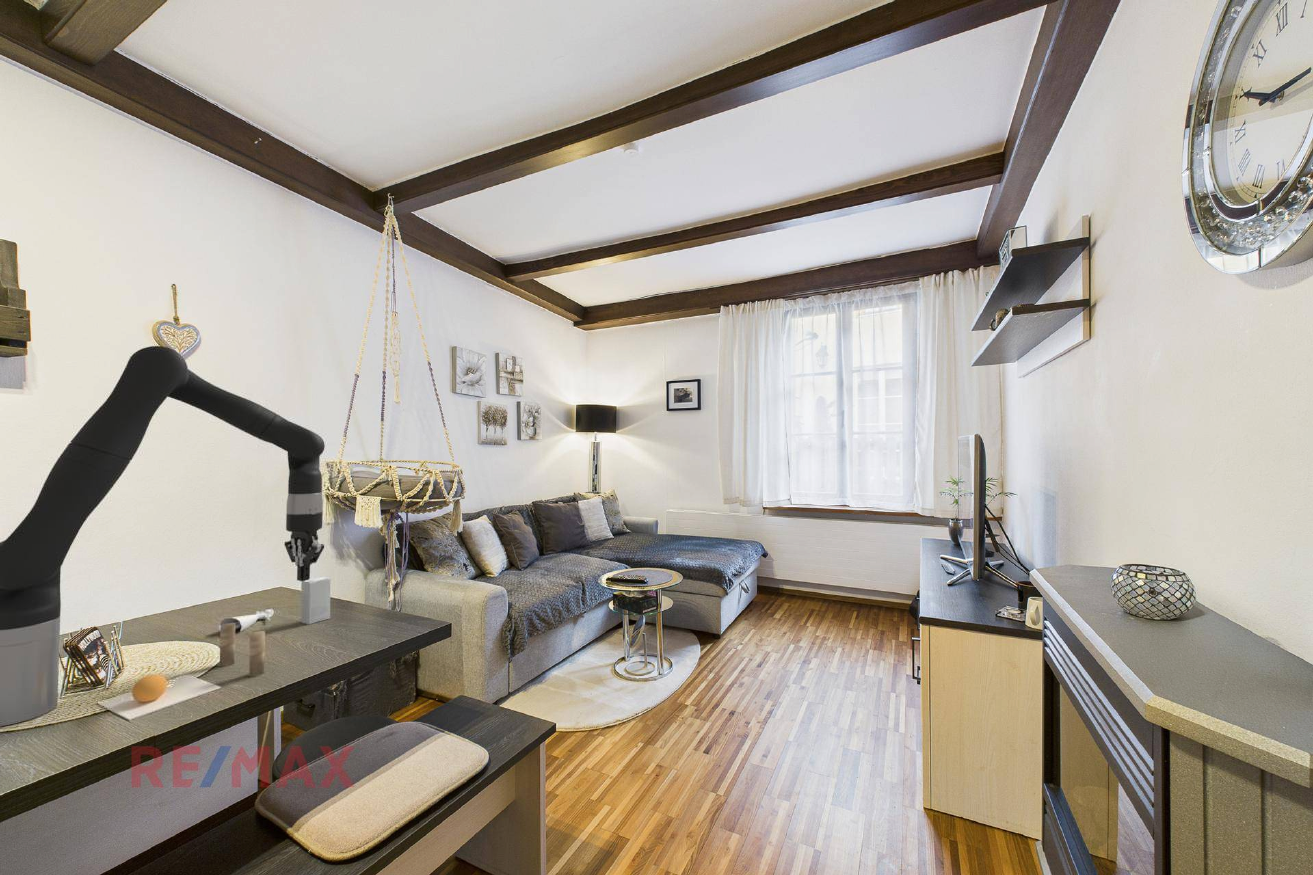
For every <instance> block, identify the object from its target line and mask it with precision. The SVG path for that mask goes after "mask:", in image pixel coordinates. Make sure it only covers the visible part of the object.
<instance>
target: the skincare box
mask: <svg viewBox="0 0 1313 875" xmlns="http://www.w3.org/2000/svg"><path fill="white" fill-rule="evenodd" d="M300 588H301V589H300V590H301V592H300V594H301V595H300V596H301V599H300V600H301V601H300V603H301V604H300V605H301V606H300V622H301V623H303V624H305V623H306V625H312V624H315V623H319V622H323V621H326V620H329V619H331V578H330V577H327V576H319V577H316V578H315V577H314V578H310V579H309V580H306V581H301V587H300ZM318 621H319V622H318Z"/></svg>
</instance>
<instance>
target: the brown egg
mask: <svg viewBox="0 0 1313 875" xmlns="http://www.w3.org/2000/svg"><path fill="white" fill-rule="evenodd" d="M167 684H168V683H167V679H166V677H165V676H163V675H161V674H157V673H155V674H154V673H153V674H148V675H146V676H143V677H142V678H139V680H137V681H136V682H135V684H134V685H133V687H132V689H131V692H132V696H133V698H134V699H135V700H136V701H139V702H150V701H153V700H156V699H157V698H159V697H160V696H161V695H162V694H163V693H164V692H165V691H166V689H167Z"/></svg>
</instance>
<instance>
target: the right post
mask: <svg viewBox="0 0 1313 875" xmlns="http://www.w3.org/2000/svg"><path fill="white" fill-rule="evenodd" d="M265 640H266V631H265V630H257V631H254V632H251V633H250V634H249V663H248V664H249V669H248V673H249V674H248V676H249V677H252V678H253V677H258V676H261V675H263V674H264V673H265V651H266V650H265V649H266V647H265V645H266V644H265V642H266V641H265Z"/></svg>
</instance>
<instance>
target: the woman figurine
mask: <svg viewBox="0 0 1313 875" xmlns="http://www.w3.org/2000/svg"><path fill="white" fill-rule="evenodd" d="M274 614H275V613H274V610H273V608H271V607H267V608H266V609H265V610H264V611H263V610H262V611H258V610H256V611H255V614H248V615H247V614H245V615H240V616H233V617H227V618H224V619H222V620H221V621H220V623H218V624H217V627H216V628H217V629H216V631H218V632H219V633H220V632H221V625H223V624H227V623H235V630H236V629H239V628H240V631H239V633H240V632H243V631H244V630H247V629H248V628H249V627H251V626H252V625H253V624H255V623H256V622H257V621H258V620H264V619H265V620H267V621H268V622H270V621H271V617H273V616H274Z"/></svg>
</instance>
